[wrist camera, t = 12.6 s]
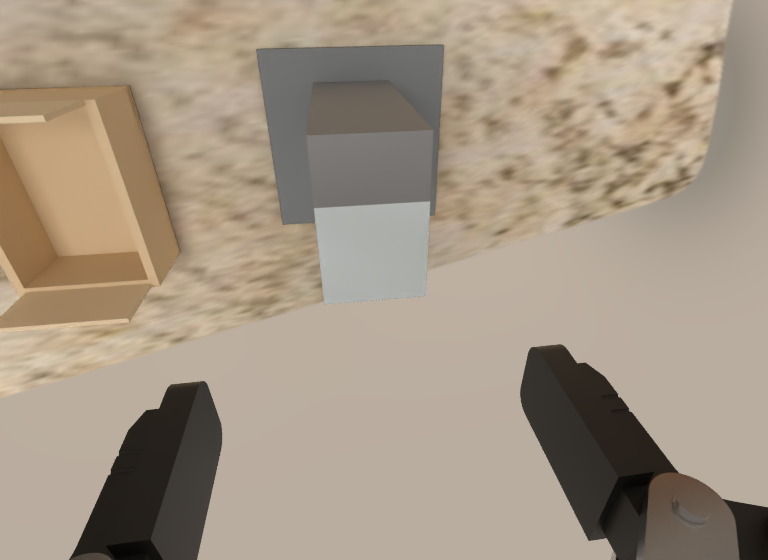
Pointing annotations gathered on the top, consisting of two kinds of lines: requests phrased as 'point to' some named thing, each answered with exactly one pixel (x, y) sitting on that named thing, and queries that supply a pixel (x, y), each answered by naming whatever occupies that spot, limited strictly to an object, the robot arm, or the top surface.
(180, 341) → the top surface
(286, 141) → the mat
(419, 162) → the box
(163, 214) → the carton
